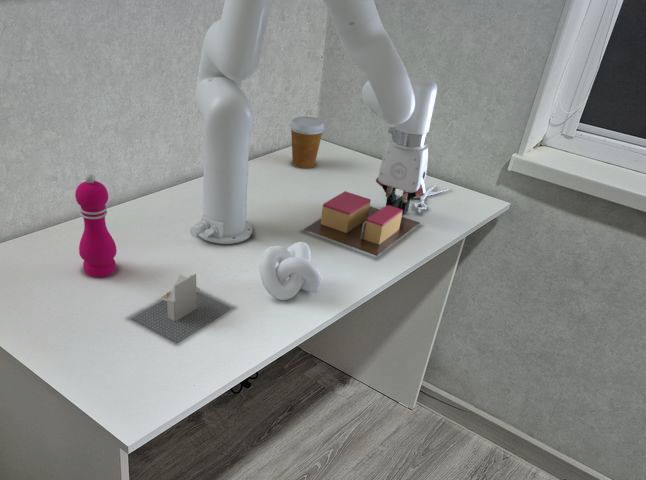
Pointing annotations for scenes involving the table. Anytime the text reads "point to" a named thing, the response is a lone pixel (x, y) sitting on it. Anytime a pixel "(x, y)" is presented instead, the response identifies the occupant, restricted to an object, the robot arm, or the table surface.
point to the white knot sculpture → (288, 271)
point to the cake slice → (382, 224)
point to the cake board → (355, 234)
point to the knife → (394, 204)
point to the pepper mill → (95, 229)
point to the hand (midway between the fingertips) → (395, 213)
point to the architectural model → (181, 311)
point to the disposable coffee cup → (305, 140)
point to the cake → (345, 211)
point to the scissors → (424, 198)
